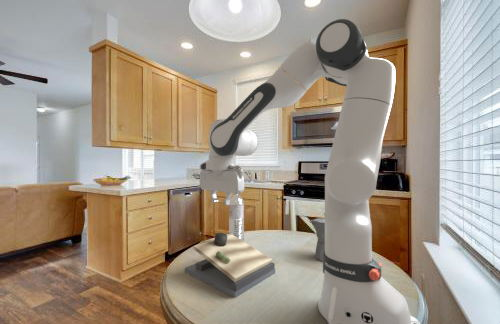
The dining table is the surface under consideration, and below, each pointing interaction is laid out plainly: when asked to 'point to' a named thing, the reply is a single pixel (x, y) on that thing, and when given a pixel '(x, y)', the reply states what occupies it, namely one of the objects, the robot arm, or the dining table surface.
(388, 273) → the dining table surface
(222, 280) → the base
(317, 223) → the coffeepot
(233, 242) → the plate
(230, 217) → the water bottle
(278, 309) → the dining table surface
